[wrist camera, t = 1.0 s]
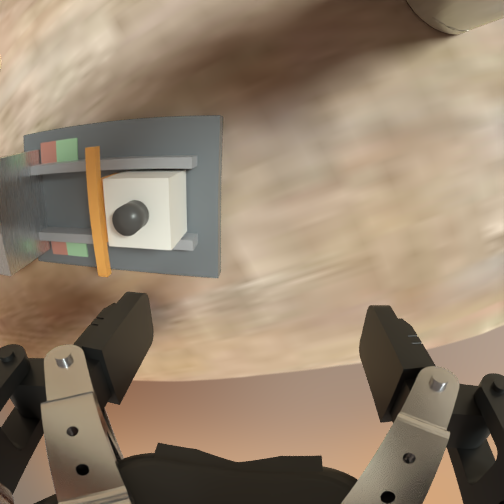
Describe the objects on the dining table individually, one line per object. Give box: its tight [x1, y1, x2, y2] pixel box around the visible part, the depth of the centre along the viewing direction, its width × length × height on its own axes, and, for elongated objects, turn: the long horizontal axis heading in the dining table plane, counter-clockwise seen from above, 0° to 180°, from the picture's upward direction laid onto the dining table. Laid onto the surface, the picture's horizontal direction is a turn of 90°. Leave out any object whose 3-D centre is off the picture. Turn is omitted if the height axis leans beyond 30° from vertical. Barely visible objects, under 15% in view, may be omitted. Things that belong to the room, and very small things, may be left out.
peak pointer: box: [85, 146, 118, 277], centre depth 27 cm, size 12×1×5 cm, turn 178°
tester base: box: [24, 115, 223, 278], centre depth 29 cm, size 16×24×4 cm, turn 88°
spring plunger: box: [103, 169, 187, 250], centre depth 26 cm, size 6×6×7 cm
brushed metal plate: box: [0, 149, 52, 276], centre depth 27 cm, size 12×3×8 cm, turn 178°
